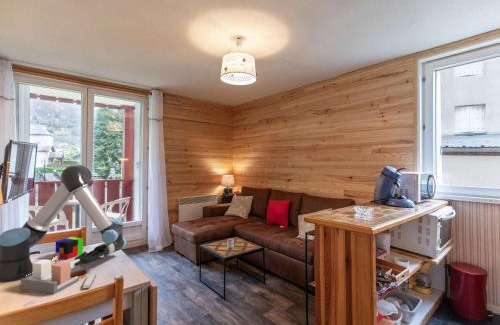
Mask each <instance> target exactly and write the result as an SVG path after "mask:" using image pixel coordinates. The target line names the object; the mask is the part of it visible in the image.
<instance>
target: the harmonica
mask: <svg viewBox="0 0 500 325" xmlns="http://www.w3.org/2000/svg"><path fill="white" fill-rule="evenodd" d="M96 275H97V274H89V275H88V276H87V277H86V280H85V281H84V283H83V286H82V287H81V291H86V290H90V288H91V286H92V284H93V283H94V281H95V278H96Z"/></svg>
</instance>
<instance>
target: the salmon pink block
mask: <svg viewBox="0 0 500 325" xmlns="http://www.w3.org/2000/svg"><path fill="white" fill-rule="evenodd" d="M70 262H71V261H69V262H68V261H62V260H61V261H60V262H56V263H55V264H52V273H51V275H52V281H54V282H57V285H60V284H62V283H64V282H66V281H68V280H70V277H71V276H72V275H71V274H72V269H71V266H70Z"/></svg>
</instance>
